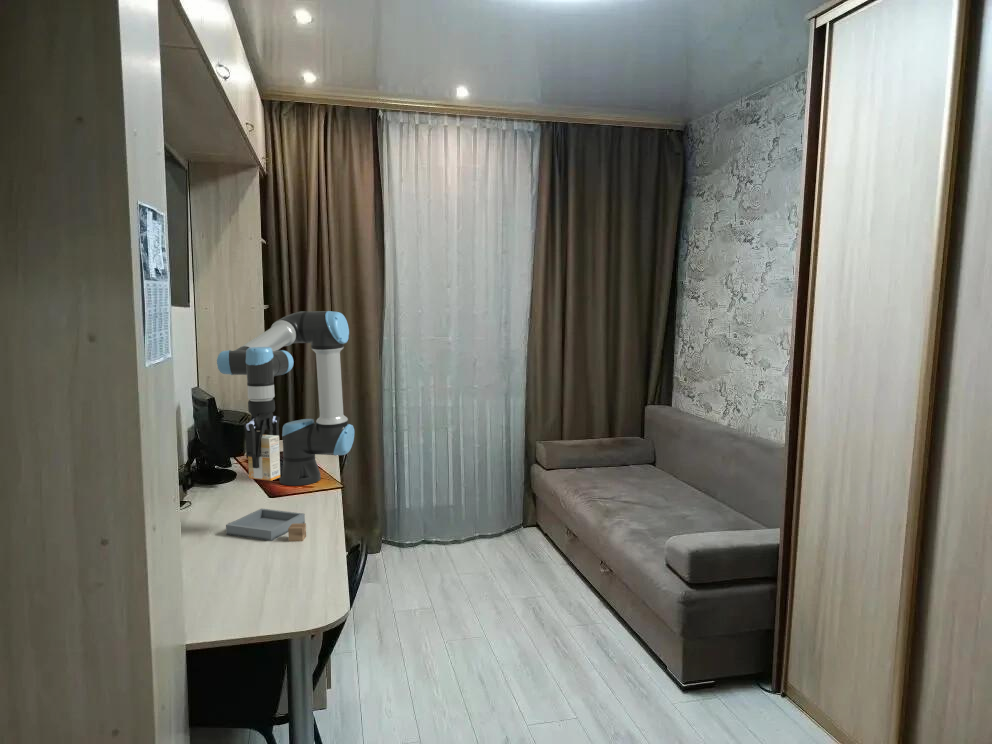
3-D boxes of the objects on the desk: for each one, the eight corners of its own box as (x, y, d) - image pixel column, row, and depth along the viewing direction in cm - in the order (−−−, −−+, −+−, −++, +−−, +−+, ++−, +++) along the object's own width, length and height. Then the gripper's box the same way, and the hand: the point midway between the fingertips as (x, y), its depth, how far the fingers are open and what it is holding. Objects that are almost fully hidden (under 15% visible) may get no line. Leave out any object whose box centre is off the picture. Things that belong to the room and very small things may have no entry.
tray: (261, 517, 209) (261, 508, 209) (304, 523, 204) (304, 513, 204) (226, 534, 194) (225, 524, 194) (271, 541, 189) (271, 531, 189)
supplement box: (248, 478, 197) (246, 436, 195) (258, 474, 201) (257, 432, 200) (270, 481, 194) (268, 437, 192) (281, 477, 198) (279, 434, 197)
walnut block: (292, 536, 193) (292, 523, 193) (306, 536, 193) (305, 523, 193) (288, 541, 189) (288, 528, 189) (302, 541, 189) (302, 528, 189)
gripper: (270, 394, 204) (273, 467, 207) (229, 403, 188) (233, 482, 190) (290, 395, 202) (293, 469, 205) (251, 404, 185) (255, 484, 188)
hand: (264, 475), depth 198 cm, fingers closed on supplement box, 5 cm apart
